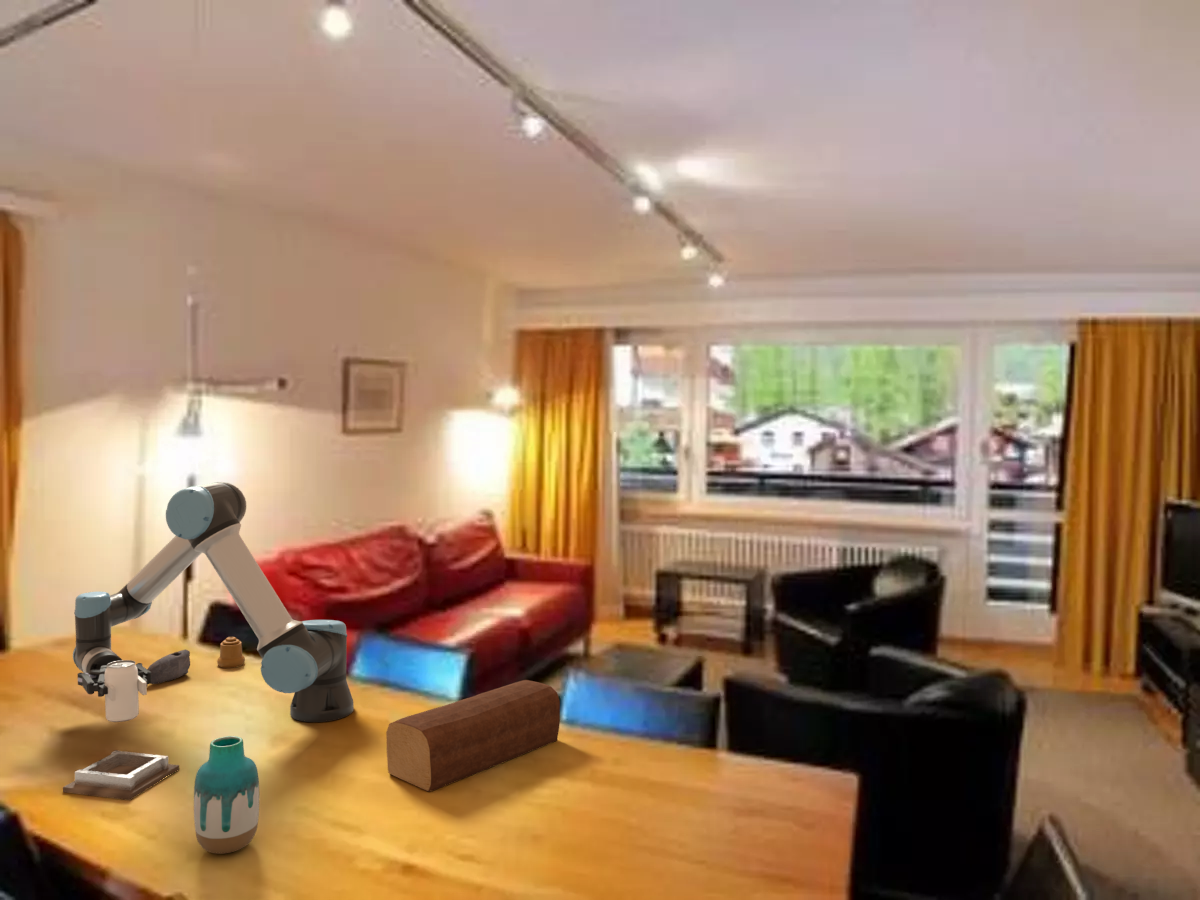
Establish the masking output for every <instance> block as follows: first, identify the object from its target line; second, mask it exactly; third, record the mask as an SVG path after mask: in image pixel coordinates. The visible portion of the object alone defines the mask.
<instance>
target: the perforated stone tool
mask: <svg viewBox="0 0 1200 900" xmlns="http://www.w3.org/2000/svg"><path fill="white" fill-rule="evenodd" d="M190 655H191V652H190V650H188V649H181V650H179V651H175V652H171V653H169V654H166V655H164V656H162V657H161V658H159V659H157V660H156V661H154V662H152V664H150V665H149V666H148V667H147V668H146V669H147V670H149V671H150V672H151V684H150V685H158V684H162V683H166V682H165V681H167V682H171V681H173V679H174V680H176V678H177V679H179V678H180V677H182V676H185V675H187V674H188V673H189V669H190V666H191V659H190Z"/></svg>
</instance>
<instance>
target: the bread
mask: <svg viewBox="0 0 1200 900" xmlns="http://www.w3.org/2000/svg"><path fill="white" fill-rule="evenodd" d="M560 704H561V702H560V697H559V695H558V692H557V691H556V690H555V689H554V688H553V687H552V686H551V685H548V684H546V683H542V682H538V681H533V680H529V679H523V680H519V681H516V682H513V683H510V684H507V685H504V686H501V687H498V688H493V689H491V690H487V691H484V692H481V693H478V694H476V695H473V696H470V697H467V698H464V699H460V700H457V701H455V702H450V703H449V704H448V703H447V704H444V705H442V706H438V707H434V708H432V709H427V710H425V711H421V712H418V713H414V714H410V715H408V716H404V717H402V718H400V719H397V720H395V721H393V722H390V723H389V724H388V727H387V729H386V733H385V735H386V737H385V738H386V760H387V761H386V763H387V772H388V773H389V774H390V775H392V776H393V777H396V778H399V779H400V780H402V781H405V782H406V783H409V784H411V785H413V786H415V787H418V788H419V789H421V790H424V791H426V792H428V793H431V792H433V791H436V790H438V789H440V788H443V787H446V786H448V785H452V784H453V783H455V782H458V781H461V780H463V779H465V778H467V777H471V776H472V775H476V774H479V773H480V772H483V771H486V770H488V769H490V768H493V767H495V766H498V765H500V764H503V763H505V762H508V761H510V760H513V759H515V758H516V759H517V758H518V757H521V756H523V755H525V754H528V753H530V752H533V751H536V750H538V749H540V748H543V747H545V746H547V745H549V744H551V743H554V742H556V741H558V736H559V731H560V722H561V715H560V714H561V712H560Z"/></svg>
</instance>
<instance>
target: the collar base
mask: <svg viewBox="0 0 1200 900" xmlns="http://www.w3.org/2000/svg"><path fill="white" fill-rule="evenodd" d="M138 768H139V767H132V766H123V765H118V766H117V767H115V768H113V769H111V770H109V771H107V772H106V773H115V774H123V775H127V774H129V773H131V772H132V771H134V770H136V769H138ZM177 770H178V771H180V764H171V763H168V769H166V770H161V771H159V772H158V773H156V774H154V775H153V776H151V777H149V778H148V779H146V780H144V781H143V782H141V783H139V784H137V785H136V786H135V788H134V789H132V790H131V791H129V790H121V789H113V788H104V787H96V786H87V785H79V784H75V780H73V781H71V782H69V783H68V784H66V785H65V786H63V787H62V792H63V793H68V794H75V795H76V794H77V795H86V796H91V797H101V798H108V799H117V800H125V801H130V800H132V799H134V798H135V797H136V796H139V795H140V794H142V793H144V792H145V791H146V790H149V789H150V788H152V787H153V786H155V785H157V784H158V783H160V782H161V781H160V780H162V779H163V778H165V777H166V776H168V775H170V774H171V775H173V774H175V773H176V772H178V771H177ZM175 771H176V772H175ZM174 772H175V773H174ZM172 773H173V774H172ZM171 775H170V776H171ZM168 777H169V776H168ZM165 779H166V778H165ZM163 780H164V779H163ZM163 780H162V781H163ZM159 781H160V782H159ZM157 782H158V783H157ZM156 783H157V784H156ZM154 784H155V785H154ZM151 786H152V787H151ZM138 794H139V795H138Z"/></svg>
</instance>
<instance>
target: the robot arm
mask: <svg viewBox="0 0 1200 900" xmlns="http://www.w3.org/2000/svg"><path fill="white" fill-rule="evenodd" d="M246 512H247V501H246V498H245V495H244V494H243V491H241V489H240V488H239V487H237V486H236V485H234V484H232V483H230V482H223V481H217V482H212V483H207V484H201V485H190V486H189V487H186V488H183V489H180V490H179V491H177V492H175V493H174V494H173V496H171V498H170V500H169V501H168V503H167V507H166V510H165V521H166V524H167V526H168V528H169V530H170V531H171V533H173V535H175V536H174V537H173V538H172V539H171V540H169V542H168V543H167V544H165V546H164V547H162V549H161V550H160V551H158V553H157V554H156V555H154V556H153V558H151V559H150V560H149V561H148V562H147V563H146V564H145V565H144V567H142V568H141V569H140V570H139V571H138V572H137V573H136V574H135V575H134V576H133V577H132V578H131V579H130V580H129V581H128V582H127V583H126V584H125V585H124V586H123V587H122V588H121V589H120V590H119V591H118V592H116V593H113V594H110V593H109V592H106V591H90V592H84V593H80V594H79V595H77V596H76V598H75V602H74V604H75V605H74V624H75V625H74V626H75V647H74V649H73V652H72V659H73V662H74V664H75V666H76V668H77V669H79V670H80V672H78V673H77V685H78V686H81V687H82V688H83V689H84V690H85V692H86V693H87V695H93V694H95V692H97V697H98V698H101V697H105V694H107V697H108V698H109V699H110V700H111V701H115V700H116V690H115V687H114V686H113V685H112V684H107V686H105V671H106V669H107V664H109V663H111V662H115V661H121V660H123V659H122V658H121V657H120V656H119V655H118V654H117V653H116V652H114V650H112V627H115V626H117V625H120V624H123V623H125V622H128V621H131V620H134V619H138V618H140V617H141V616H143V615H145V614H146V613H147V612H149V611H150V609H151V606H152V604H153V601H154V600H155V599H157V597H158V596H159V595H161V593H162V592H163V591H164V590H165V589H167V588H168V587H169V586H170V585H171V584H172V583H173V582H174V581H175V580H176V579H177V578H178V577H179V576H180V575H182V573H183V572H184V571H185V570H186V569H187V568H188V567H189V566H190V565H191V564H192V563H193V562H194V561H195V560H196V559H198V557H199V556H200V555H202V554H204V555H205V556H206V558H207V559H208V560H209V562H210V564H211V566H212V567H213V569H214V570H215V571H216V574H217V575H218V577H219V578H220V580H221V582H222V583H223V585H224V586H225V588H226V589H227V591H228V593H229V594H230V596H231V597H232V599H233V600H234V603H235V604H236V605H237V607H238V608H239V610H240V612H241V613H242V615H243V617H244V618H245V620H246V621H247V623H248V624H249V626H250V628H251V630H252V631H253V632H254V634H255V636H256V637H257V639H258V644H257V648H256V650H257V653H258V654H259V656H260V657H261V662H260V664H261V665H260V666H261V667H260V674H261V677H262V678H263V680H264V682H265V683H266V684H267V686H269V687H270V688H271V689H273V690H274V691H276V692H279V693H283V694H284V693H285V694H293V696H292V701H291V702H290V706H289V707H290V709H289V710H290V711H289V715H290V718H292V719H294V720H297V721H299V722H307V723H324V722H331V721H337V720H340V719H342V718H346V717H348V716H350V715H351V714H352V713H353V712H354V698H353V695H352V693H351V690H350V687H349V683H348V681H347V649H348V647H347V646H348V645H347V644H348V643H347V642H348V641H347V637H348V634H347V626H346V624H345V623H344V622H343V621H340V620H334V619H309V620H302V621H300V620H295V619H293V618H292V616H291V614H290V613H289V612H288V610H287V608H286V607H285V605H284V603H283V602H282V601H281V599H280V597H279V596H278V594H277V592H276V591H275V589H274V587H273V586H272V584H271V583H270V581H269V580H268V578H267V576H266V575H265V574H264V571H263V570H262V569H261V567H260V565H259V564H258V562H257V561H256V559H255V558H254V556H253V554H252V553H251V550H250V549H249V548H248V546H247V545H246V543H245V542H244V540H243V538H242V537H241V535H240V531H241V527H242V524H241V522H242V520H243V518H244V517H245V516H246V515H245V514H246ZM135 665H136V667H137V669H138V693H140V694H141V695H143V696H146V695H148V692H147V688H148V687H149V686H148V685H152V684H151V672H150V671H149V670H147V669H148V668H146V667H145V666H143V663H141V662H138V663H135Z"/></svg>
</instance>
